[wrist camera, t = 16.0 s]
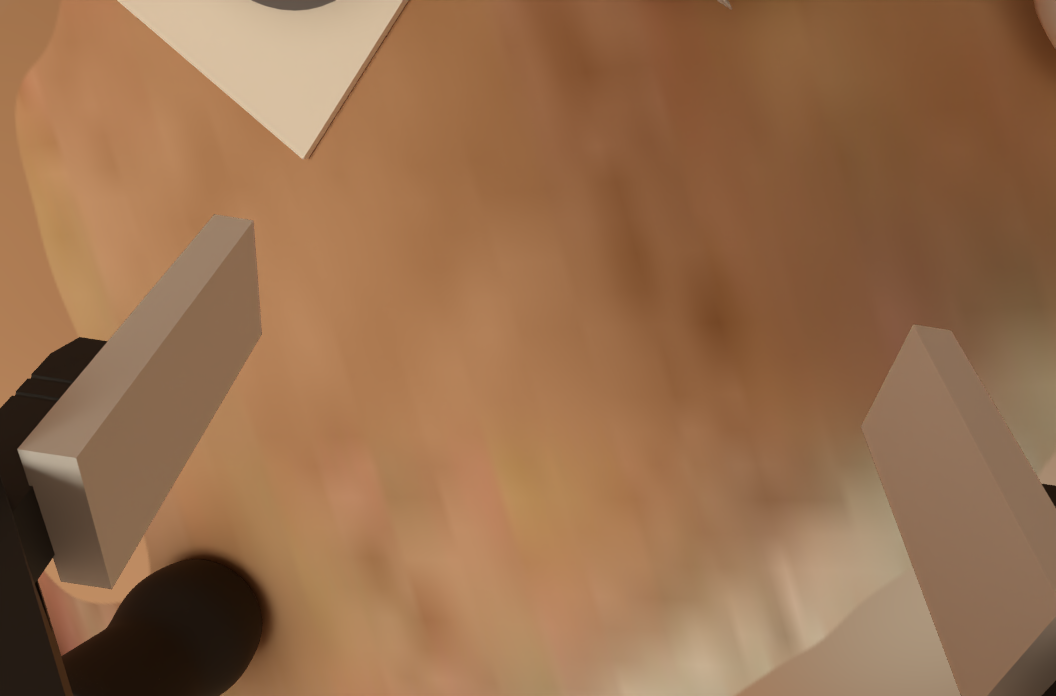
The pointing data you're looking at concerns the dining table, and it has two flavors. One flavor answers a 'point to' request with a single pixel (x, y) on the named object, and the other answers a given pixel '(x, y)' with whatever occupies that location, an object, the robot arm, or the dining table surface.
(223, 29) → the card
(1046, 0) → the flower vase
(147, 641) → the cola bottle
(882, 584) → the dining table surface
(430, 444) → the dining table surface
